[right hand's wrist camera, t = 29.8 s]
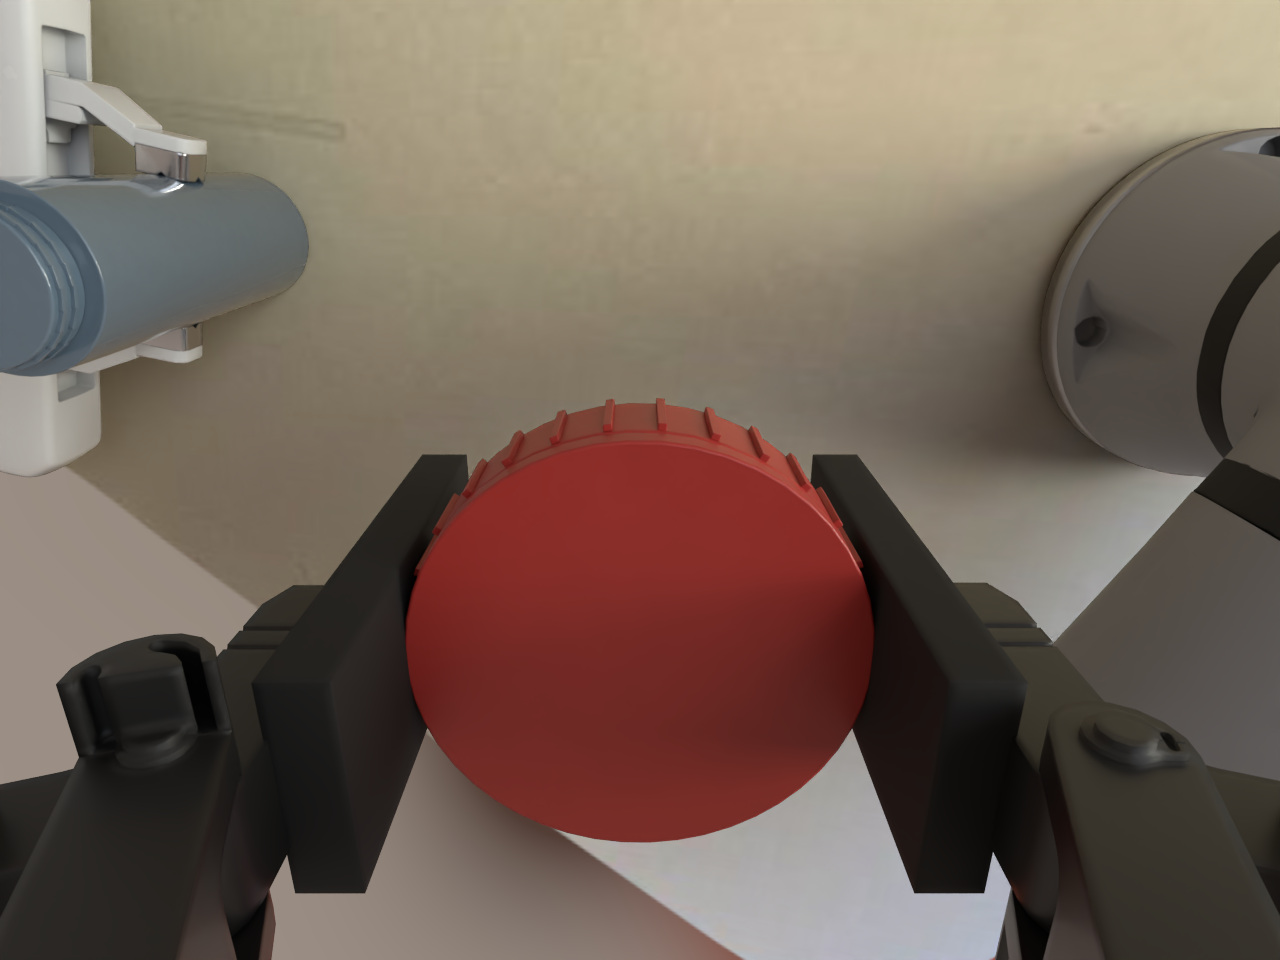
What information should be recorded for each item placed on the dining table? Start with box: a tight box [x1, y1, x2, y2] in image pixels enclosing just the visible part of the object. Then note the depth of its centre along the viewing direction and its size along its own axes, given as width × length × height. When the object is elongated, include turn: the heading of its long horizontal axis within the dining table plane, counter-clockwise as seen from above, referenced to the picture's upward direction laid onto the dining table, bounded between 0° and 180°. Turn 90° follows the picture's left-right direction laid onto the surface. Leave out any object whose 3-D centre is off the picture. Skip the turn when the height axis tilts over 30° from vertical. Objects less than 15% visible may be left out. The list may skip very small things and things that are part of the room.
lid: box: [405, 398, 875, 842], centre depth 11 cm, size 6×6×2 cm
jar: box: [0, 172, 308, 377], centre depth 29 cm, size 6×6×16 cm
